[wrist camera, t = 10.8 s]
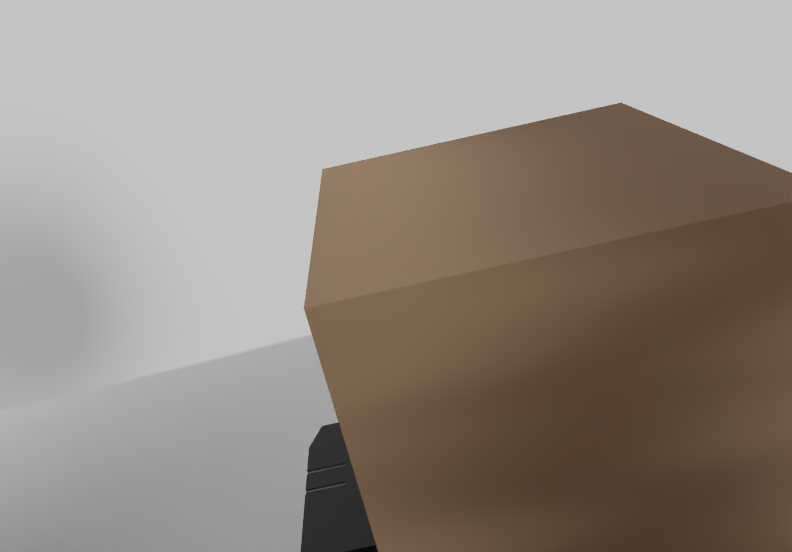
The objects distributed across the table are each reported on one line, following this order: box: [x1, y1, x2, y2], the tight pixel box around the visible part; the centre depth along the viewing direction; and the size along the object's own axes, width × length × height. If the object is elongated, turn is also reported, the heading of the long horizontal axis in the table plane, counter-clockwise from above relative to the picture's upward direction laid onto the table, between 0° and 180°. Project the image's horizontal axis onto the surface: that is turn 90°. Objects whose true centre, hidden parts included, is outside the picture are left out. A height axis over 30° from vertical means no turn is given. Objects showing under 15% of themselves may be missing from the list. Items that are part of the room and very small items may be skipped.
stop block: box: [304, 103, 792, 552], centre depth 9 cm, size 4×4×11 cm
